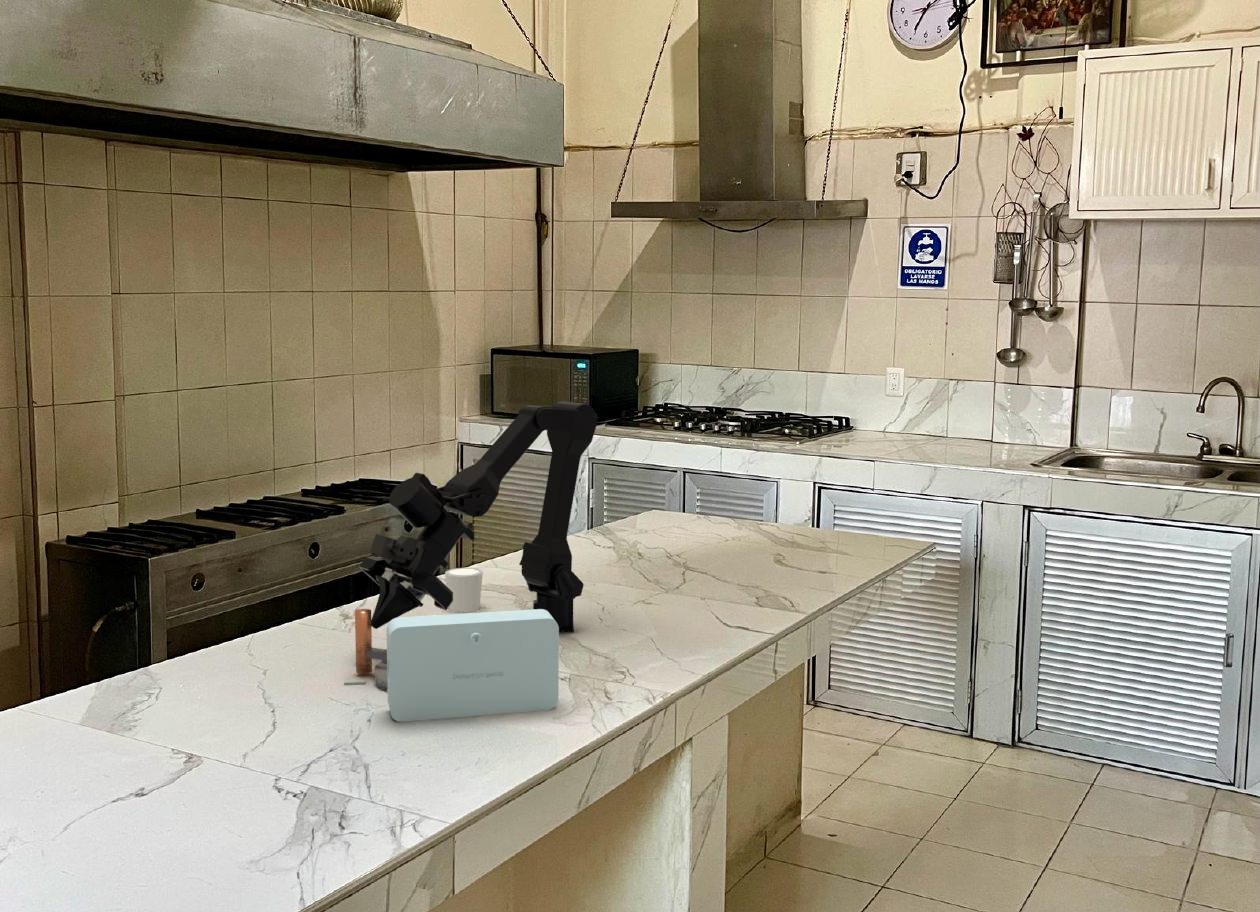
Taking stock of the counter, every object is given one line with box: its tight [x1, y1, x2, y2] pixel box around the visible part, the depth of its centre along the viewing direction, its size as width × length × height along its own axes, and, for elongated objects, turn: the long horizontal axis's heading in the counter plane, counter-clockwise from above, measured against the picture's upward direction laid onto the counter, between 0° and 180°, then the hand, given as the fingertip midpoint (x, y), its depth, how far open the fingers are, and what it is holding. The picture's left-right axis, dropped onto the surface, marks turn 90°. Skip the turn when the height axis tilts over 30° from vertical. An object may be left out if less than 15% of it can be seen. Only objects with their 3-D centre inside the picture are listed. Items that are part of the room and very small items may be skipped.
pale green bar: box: [343, 680, 366, 686], centre depth 180 cm, size 3×1×1 cm, turn 98°
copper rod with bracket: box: [354, 608, 387, 675], centre depth 182 cm, size 7×2×10 cm, turn 68°
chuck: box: [374, 660, 388, 692], centre depth 180 cm, size 10×10×7 cm
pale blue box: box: [386, 609, 560, 723], centre depth 168 cm, size 23×6×13 cm, turn 105°
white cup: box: [444, 567, 484, 614], centre depth 222 cm, size 7×7×7 cm
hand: (372, 627), depth 183 cm, fingers closed, pressing on copper rod with bracket
